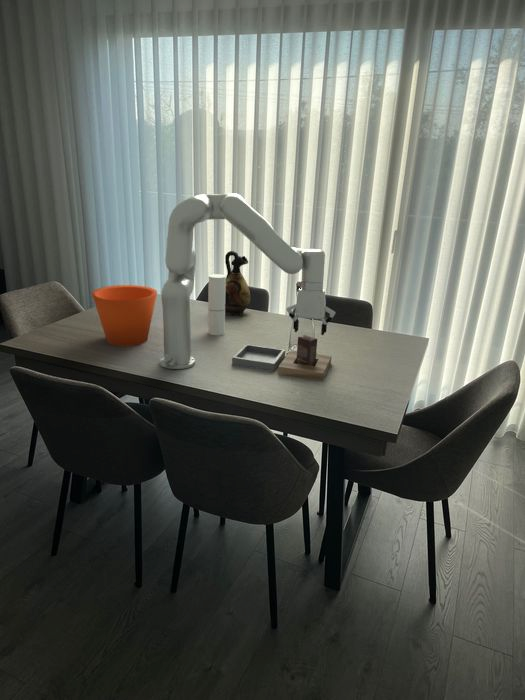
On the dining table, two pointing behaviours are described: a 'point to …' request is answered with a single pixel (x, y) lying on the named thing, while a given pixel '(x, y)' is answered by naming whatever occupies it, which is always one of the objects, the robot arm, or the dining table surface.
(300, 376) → the socket board
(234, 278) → the ceramic jug
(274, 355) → the tray
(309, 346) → the box
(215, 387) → the dining table surface
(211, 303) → the cylindrical container
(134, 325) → the flowerpot
